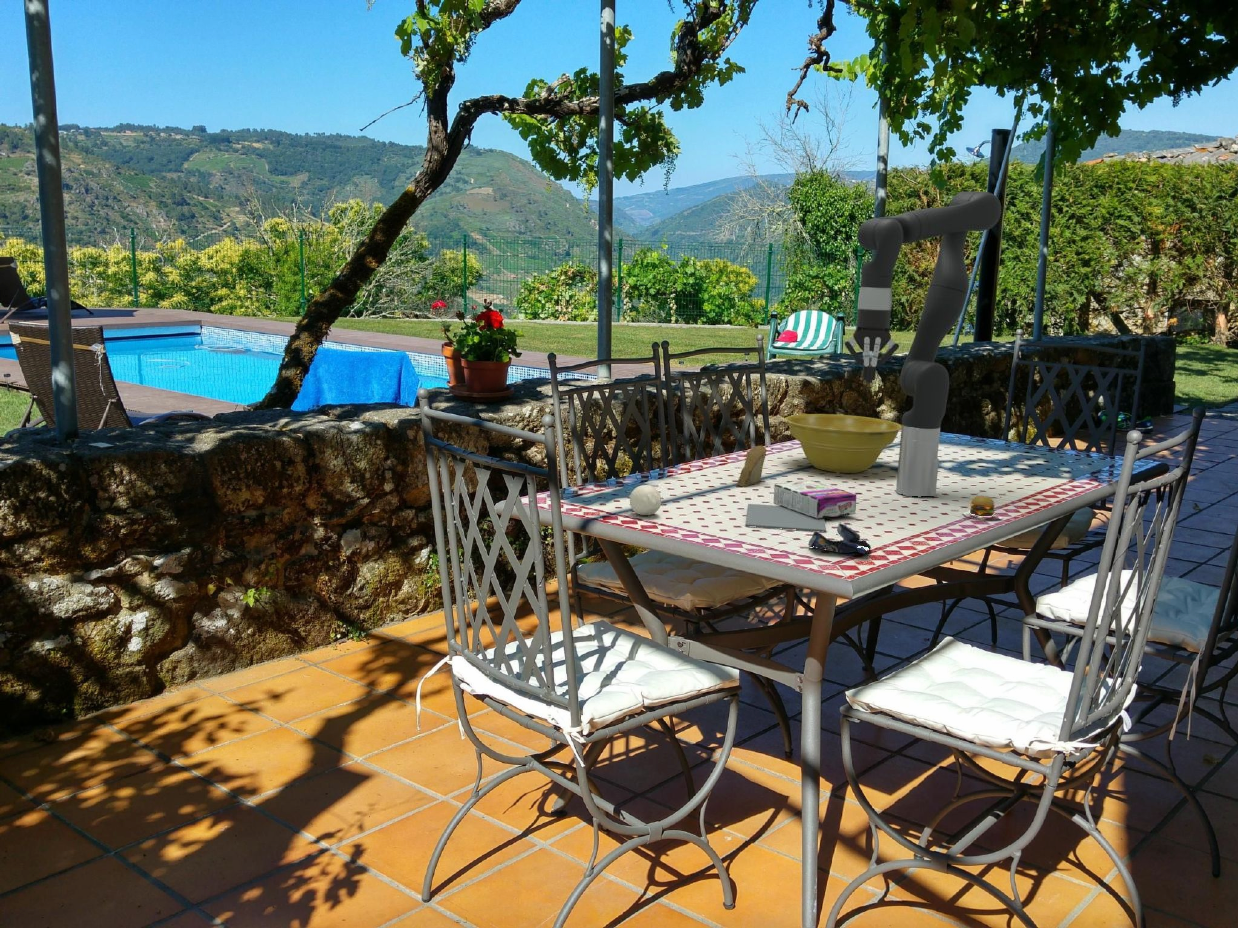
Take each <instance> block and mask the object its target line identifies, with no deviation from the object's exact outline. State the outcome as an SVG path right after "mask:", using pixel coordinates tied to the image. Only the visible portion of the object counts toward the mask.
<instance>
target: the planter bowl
mask: <svg viewBox="0 0 1238 928" xmlns="http://www.w3.org/2000/svg"><path fill="white" fill-rule="evenodd" d="M783 421H785V422H786V423H787V424H788V427H789V430H790V433H791V436H792V437H793V438H795V439H796V440H797V441H798V442H799V443H800V446H801V448H802V451H803V453H804V455H805V458H806V459H807V461H808V463H810V464H811V465H812V466H813V467H814V468H816V469H818V470H821V471H826V472H833V473H845V474H846V473H848V474H849V473H850V474H854V473H855V474H856V473H857V474H858V473H863V472H865V471H866V470H868V469H870V468H871V467H873V465H874V464H875V463H876V461H877V460H878V459H879V457H880V455H881V454H882V451H883V449H886V448H887V447H888V446H890V445H892V444H893V443H894V442H895V439H896V438H897V436H898V434H899V431H901V429H902V424H899V423H897V422H894V421H891V420H886V419H882V418H881V419H880V418H877V417H867V416H858V415H847V414H831V413H830V414H827V413H811V414H809V413H808V414H807V413H805V414H803V413H802V414H792V415H789V416H786V417H785V418H784V420H783Z"/></svg>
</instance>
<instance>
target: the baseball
mask: <svg viewBox="0 0 1238 928" xmlns="http://www.w3.org/2000/svg"><path fill="white" fill-rule="evenodd" d="M629 505H630V507H631V509H632V510H633V512H634V513H636V514H637V515H639V514H640V516H643V515H648V516H652V515H654V514H656V513H657V512H658V511H659V510H660V508H661V505H662V496H661V493H660V492H659V491H658V489H657V488H656V487H654V486H652V485H648V484H644V485H643V484H642V485H638V486H637V487H635V488H634V489H633V490H632V492H631V493H630V496H629Z"/></svg>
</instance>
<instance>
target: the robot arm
mask: <svg viewBox="0 0 1238 928" xmlns="http://www.w3.org/2000/svg"><path fill="white" fill-rule="evenodd" d="M1001 214H1002V205H1001V201H1000V200H999V198H998V197H997V195H995V194H993V193H992V192H987V191H960V192H958V193H956V194H954V196H953V197H952V198H951V201H950V203H949V205H947V206H940V207H928V208H921V209H915V210H911V211H907V212H904V213H901V214H896V215H891V216H890V215H889V216H883V217H875V218H869V219H868V220H865V221H864V222H862V224H861V225H859V228H858V229H857V234H856V238H857V242H858V244H859V245H860V246H861V248H863V249H865V250H866V251H876V252H875V255H874V258H873V259H871V260H869V261H867V262H864V263H863V265H862V267H861V273H860V274H861V277H860V289H859V293H858V300H857V301H858V302H857V311H856V323H855V324H856V325H855V330H854V332H853V334H852V337H851V338H850V339H848V340H846V341H844V343H843V345H844V346H845V348H846V349H847V351H848V352H849V353H850V355H851V357H852V358H853V360H854V361H855V363H856V364H858V365H862V379H863V381H864V382H865V384H866V383H867V384H868V383H869V384H872V383H873V381H875V380H876V376H877V375H876V372H877V367H878V366H881V365H884V364H885V363H886V362H887V361H888V360H889V359H890V358H891V357H892V356H893V355H894V353H896V352H897V350H898V349H899V347H900V345H899V344H898V343H897V342H896V341H894V340H892V335H891V333H890V325H891V313H892V307H893V306H892V305H893V304H892V301H893V296H892V288H893V287H892V286H893V274H894V269H895V267H896V264H897V260H898V258H899V255H900V252H901V249H902V247H903V245H904V244H905V245H907V244H912V243H913V244H914V243H916V242H920V241H924V240H928V239H931V238H935V237H939V236H942V237H941V243H940V248H939V251H938V256H937V259H936V263H935V267H934V270H933V273H932V278H931V280H930V283H929V287H928V290H927V292H926V293H927V294H926V297H925V300H924V304H923V308H922V312H921V315H920V319H919V322H918V325H917V328H916V332H915V334H914V335H915V336H914V338H913V341H912V344H911V346H910V348H909V350H908V353H907V355H906V358H905V361H904V363H903V366H902V369H901V373H900V375H899V385H900V388H901V390H902V392H903V393H904V394H905V395H907V396H910V397H913V398H914V399H913V405H912V408H911V409H910V410H908V411H906V412H905V413H904V414H903V415H902V420H901V425H902V429H901V430H900V443H899V452H898V454H899V455H898V465H897V476H896V485H895V486H896V487H895V489H896V491H895V492H896V493H897V494H899V495H901V494H903V495H902V496H907V497H912V496H918V497H917V498H922V497H921V496H935V497H936V496H937V495H936V494H937V483H938V473H939V464H940V463H939V462H940V459H939V458H938V455H939V454H938V453H939V444H940V434H941V425H942V420H943V419H944V416H945V415H946V411H947V410H946V409H947V402H948V397H949V390H950V377H949V376H950V375H949V372H948V370H947V369H946V367H945V366H944V365H942V364H940V363H938V362H935V360H936V357H937V354H938V351H939V348H940V346H941V344H942V341H943V340H944V338H945V337H946V336H947V334H948V333H949V332H950V331H951V329H952V328H953V327H954V325H955V324H956V323H957V322H958V320H959V318H960V317H961V316H962V313H963V310H964V307H965V304H966V301H967V297H968V294H969V290H970V280H969V275H968V271H967V266H966V263H965V258H964V257H965V256H964V251H965V245H966V240H967V237H968V233H969V232H983V231H988V230H990V229H992V228H993V227H994V226H995V225H997V223H998V222H999V220H1000V217H1001ZM855 342H856V343H855ZM856 344H857V345H858V347H859V349H860V350H861V351H862V358H861V357H860V356H859V354H858V352H857V351H856V350H855V347H856ZM886 346H887V350H886V351H885V352H884V353H883V354H882V356H881V357H879V353H880V352H881V351H882V350H883V349H884V348H885V347H886ZM870 352H871V356H870ZM870 357H871V358H870Z"/></svg>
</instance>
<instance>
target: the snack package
mask: <svg viewBox="0 0 1238 928" xmlns="http://www.w3.org/2000/svg"><path fill="white" fill-rule="evenodd" d="M836 527H837V528H836V532H837V533H835V535H836V536H839V535H840V537H841V538H842V539H840V540H838V539H837V538H835V540H831V539H828V538H826V537H825V535H823V534H822V533H821V532H813V533H812V535H811V538H810V539H809V541H808V543H807V545H808V547H809V548H810V547H813V546H814V547H817V548H816V549H819V548H821V549H820V550H824V549H826V550H825V551H829V550H830V551H829V552H833V551H835V553H844V554H845V553H847V554H849V553H850V552H852V553H860V554H861V555H863V556H867V555H868V553H869V552H870V550H871V549H872V547H871V546H872V545H870V544H869V543H868V542H867V540H865V539H864V540H861V535H860V533H858V532H856V531H855V530H853V528H851V527H848V526H847V524H843V523H841V522H839V523H838V526H836ZM831 528H833V526H831ZM858 546H864V547H868V548H869V550H867V551H866V550H865V549H864V548H863V547H861V548H857V547H858ZM850 554H851V553H850Z"/></svg>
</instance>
